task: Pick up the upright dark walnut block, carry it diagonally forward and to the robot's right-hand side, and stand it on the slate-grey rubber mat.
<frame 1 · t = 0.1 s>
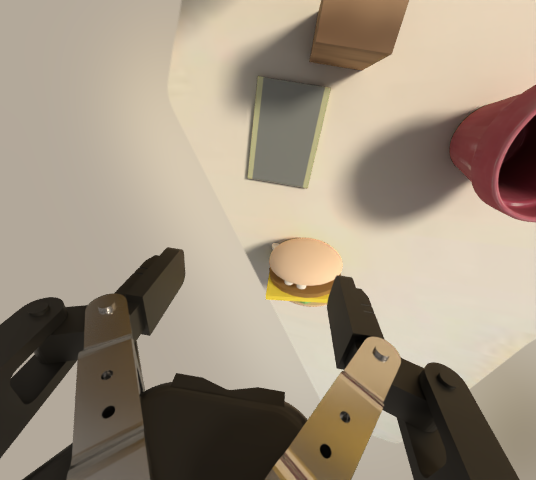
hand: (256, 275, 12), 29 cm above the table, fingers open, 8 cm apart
mat: (285, 137, 36), on the table
hamburger: (303, 249, 45), on the table
plant pot: (484, 139, 34), on the table
walnut block: (341, 41, 30), on the table
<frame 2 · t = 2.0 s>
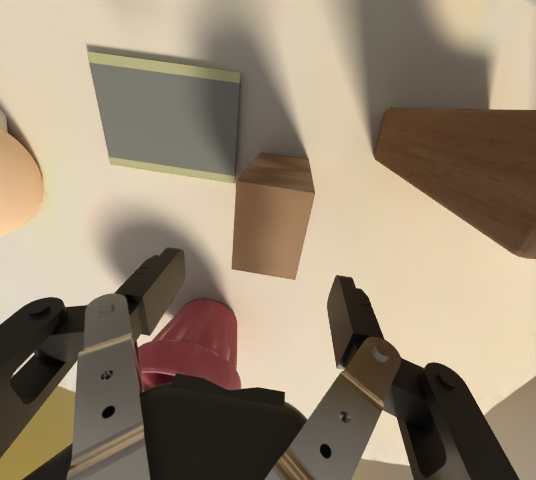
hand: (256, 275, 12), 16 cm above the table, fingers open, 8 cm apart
mat: (170, 123, 24), on the table
hamburger: (23, 165, 28), on the table
wooden block: (426, 137, 22), on the table
plant pot: (210, 318, 38), on the table
walnut block: (279, 188, 26), on the table
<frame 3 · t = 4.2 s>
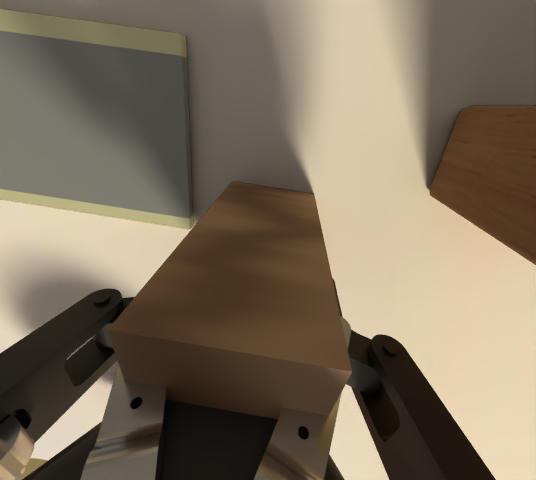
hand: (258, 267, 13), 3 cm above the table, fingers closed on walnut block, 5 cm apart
mat: (73, 131, 14), on the table
wooden block: (527, 158, 12), on the table
walnut block: (265, 237, 16), on the table, touching gripper
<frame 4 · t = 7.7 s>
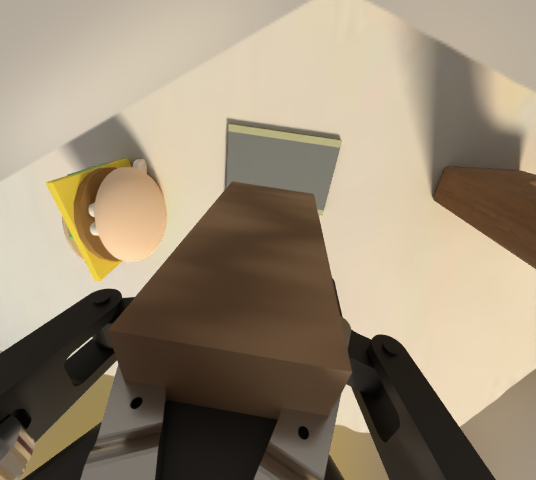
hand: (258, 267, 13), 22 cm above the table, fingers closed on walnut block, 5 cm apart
mat: (279, 172, 32), on the table
hamburger: (149, 199, 36), on the table
wooden block: (472, 185, 30), on the table
walnut block: (265, 237, 16), point 18 cm above the table, touching gripper
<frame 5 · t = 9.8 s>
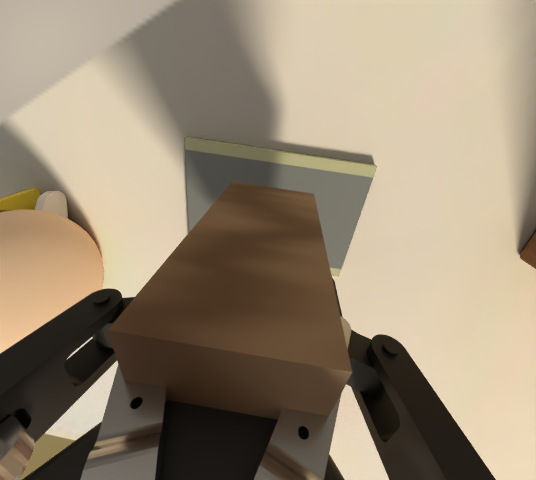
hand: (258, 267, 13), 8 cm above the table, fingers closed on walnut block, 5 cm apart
mat: (271, 212, 20), on the table
hamburger: (79, 245, 24), on the table
walnut block: (265, 237, 16), point 5 cm above the table, touching gripper
when the fingers open (5 cm above the table, at t = 11.4 s): walnut block drops 1 cm, resting on mat.
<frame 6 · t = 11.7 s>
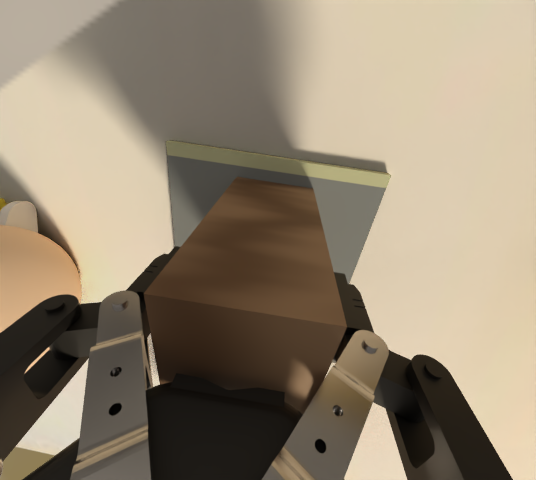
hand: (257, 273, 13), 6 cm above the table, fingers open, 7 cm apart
mat: (267, 226, 18), on the table
hamburger: (54, 260, 22), on the table
walnut block: (268, 230, 17), point 1 cm above the table, touching mat
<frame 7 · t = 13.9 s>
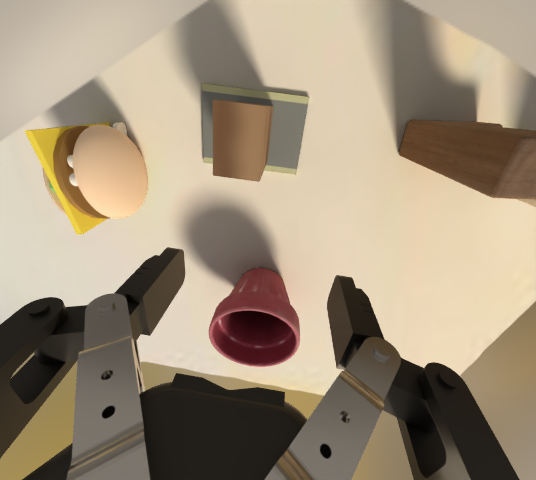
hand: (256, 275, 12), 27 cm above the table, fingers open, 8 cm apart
mat: (252, 131, 33), on the table
hamburger: (131, 164, 37), on the table
wooden block: (435, 139, 32), on the table
plant pot: (261, 285, 48), on the table
walnut block: (252, 132, 33), point 1 cm above the table, touching mat
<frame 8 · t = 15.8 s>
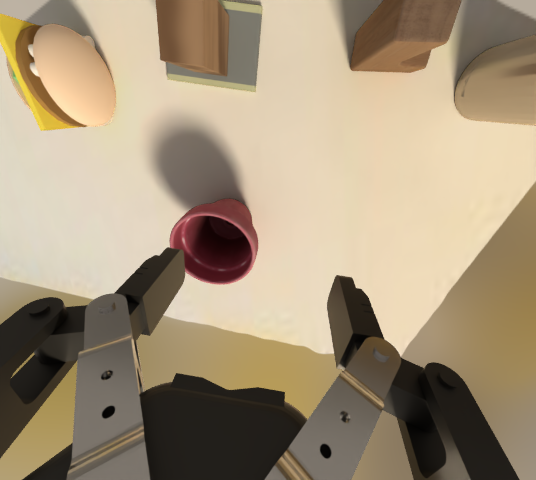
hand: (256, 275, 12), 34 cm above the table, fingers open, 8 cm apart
mat: (212, 46, 35), on the table
hamburger: (101, 84, 39), on the table
wooden block: (384, 53, 34), on the table
plant pot: (230, 218, 49), on the table
walnut block: (211, 45, 35), point 1 cm above the table, touching mat
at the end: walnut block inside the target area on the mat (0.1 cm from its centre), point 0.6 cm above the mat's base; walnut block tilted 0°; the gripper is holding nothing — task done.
